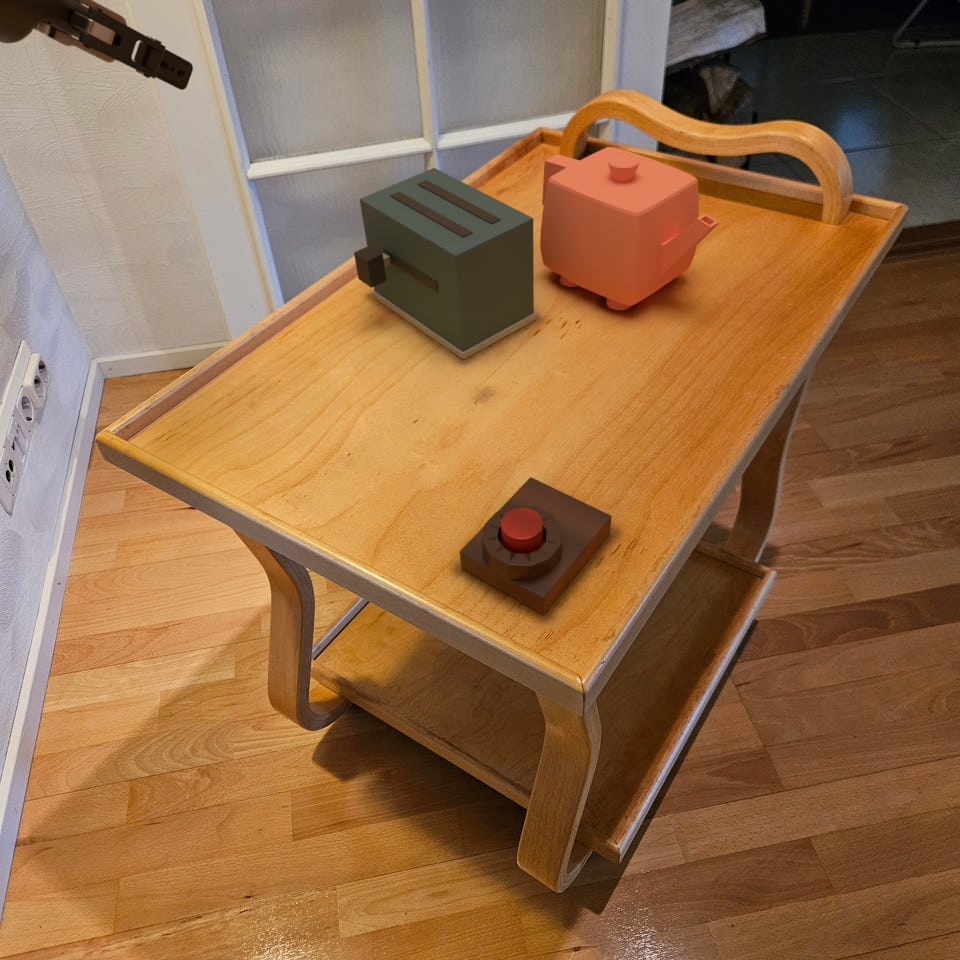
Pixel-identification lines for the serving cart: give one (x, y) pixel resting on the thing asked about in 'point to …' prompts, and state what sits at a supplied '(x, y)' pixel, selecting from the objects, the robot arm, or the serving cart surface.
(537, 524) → the power button
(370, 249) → the slider
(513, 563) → the switch block
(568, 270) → the teapot
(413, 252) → the toaster
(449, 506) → the serving cart surface
